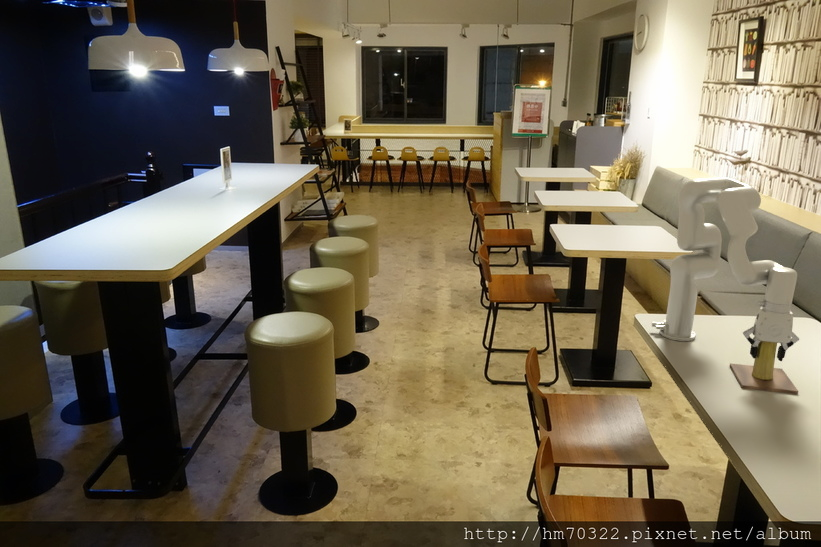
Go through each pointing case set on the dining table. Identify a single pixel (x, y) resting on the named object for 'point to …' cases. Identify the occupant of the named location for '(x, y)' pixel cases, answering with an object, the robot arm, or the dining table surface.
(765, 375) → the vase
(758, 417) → the dining table surface
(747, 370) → the coaster board
